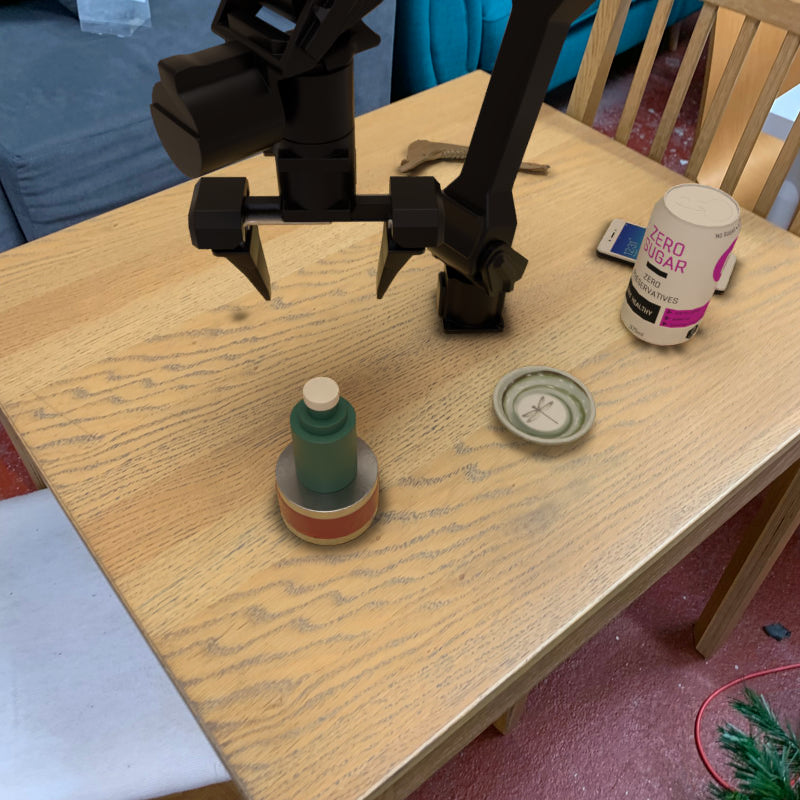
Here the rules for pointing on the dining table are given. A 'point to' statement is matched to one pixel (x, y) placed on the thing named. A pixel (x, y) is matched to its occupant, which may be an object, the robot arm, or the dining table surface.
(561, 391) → the saucer
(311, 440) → the bottle
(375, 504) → the tin
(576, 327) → the dining table surface
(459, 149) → the jawbone
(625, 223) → the smartphone
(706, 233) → the supplement can
